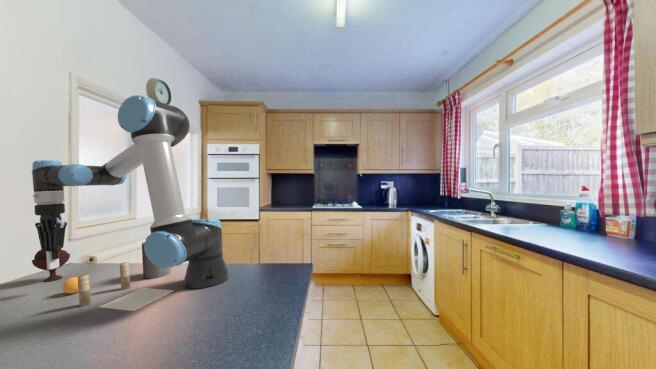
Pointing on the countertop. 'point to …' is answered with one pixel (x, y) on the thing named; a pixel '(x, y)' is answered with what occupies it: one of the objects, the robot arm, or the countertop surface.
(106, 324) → the countertop surface
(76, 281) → the ball
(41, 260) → the ice cream bowl
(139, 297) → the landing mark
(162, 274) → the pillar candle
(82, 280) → the left post
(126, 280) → the right post
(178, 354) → the countertop surface
